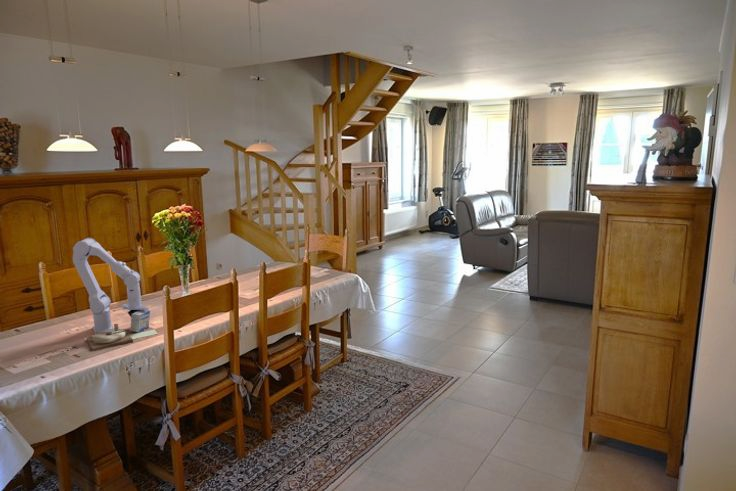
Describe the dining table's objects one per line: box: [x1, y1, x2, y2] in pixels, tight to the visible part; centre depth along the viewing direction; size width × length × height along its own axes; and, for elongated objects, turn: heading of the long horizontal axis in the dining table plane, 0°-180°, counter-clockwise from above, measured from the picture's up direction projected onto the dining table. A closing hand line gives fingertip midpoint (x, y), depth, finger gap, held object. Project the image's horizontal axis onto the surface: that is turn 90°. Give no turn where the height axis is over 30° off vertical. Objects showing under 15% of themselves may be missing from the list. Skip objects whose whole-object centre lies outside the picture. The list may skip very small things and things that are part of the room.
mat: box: [129, 329, 158, 340], centre depth 229 cm, size 7×11×1 cm, turn 127°
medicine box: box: [130, 310, 151, 333], centre depth 234 cm, size 8×4×9 cm, turn 168°
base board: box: [86, 329, 134, 352], centre depth 221 cm, size 16×16×1 cm
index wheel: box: [92, 323, 125, 343], centre depth 220 cm, size 13×13×5 cm
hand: (137, 324), depth 238 cm, fingers closed
